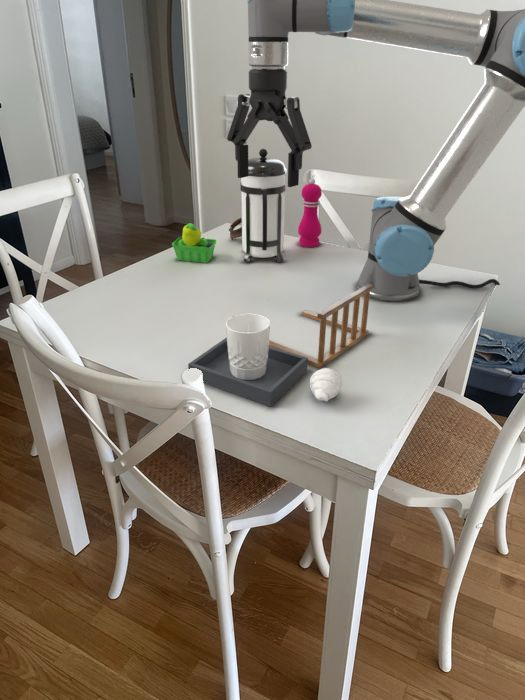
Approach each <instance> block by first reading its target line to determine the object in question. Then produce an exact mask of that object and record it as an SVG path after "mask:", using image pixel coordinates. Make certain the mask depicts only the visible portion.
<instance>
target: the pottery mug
mask: <svg viewBox="0 0 525 700" xmlns="http://www.w3.org/2000/svg"><path fill="white" fill-rule="evenodd" d="M239 225H242V217H239V218H237V219H236V220H234V221H233V222H232V223H231V224H230V225H229V229H228V231H229V238H230V239H231V240H232V241H233V240H234V239H239V238H242V226H240V227H238V226H239ZM236 227H238V228H237V229H235V228H236Z"/></svg>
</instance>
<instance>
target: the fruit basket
mask: <svg viewBox="0 0 525 700" xmlns="http://www.w3.org/2000/svg"><path fill="white" fill-rule="evenodd" d="M181 235H182V236H179V237H178V238H176V239H175V241H173V242H172V243H171V246H172V248H173V250H174V253H175V256H176V259H177V261H184V262H195V263H203V264H208V263H209V261H210V260H211V259H212V258H213V255H214V252H215V247H216V244H217V239H214V238H205V237H202V231H201V230H200V229H199V228H197V226H195V224H194V223H192V222H191V223H187V224H186V225H184V226H183V228H182V234H181Z"/></svg>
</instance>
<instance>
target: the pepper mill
mask: <svg viewBox="0 0 525 700" xmlns="http://www.w3.org/2000/svg"><path fill="white" fill-rule="evenodd" d="M322 193H323V191H322V188H321V186H319V184H316V179H315V178H312V177H311V178H309V180H308V183H307V184H305V185H303V187H302V189H301V197H302V198H303V200H302V206H303V214H302V217H301V219H300V222H299V224H298V228H297V233H298V235H299V236H300V237H298V238H299V239H298V244H299V245H300V246H301V247H305V248H316V247H318V246H319V245H320V238H319V237H320V236H321V234H322V225H321V221H320V219H319V214H318V209H319V206H320V198H321V197H322Z"/></svg>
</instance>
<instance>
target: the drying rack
mask: <svg viewBox="0 0 525 700" xmlns="http://www.w3.org/2000/svg"><path fill="white" fill-rule="evenodd" d="M371 290H373V285H371V284H367V285H365V286H364V287H362V288H360V289H358V288H357V290H355V291H353V292H351V293H350V294H348V295H346V296H344V297H343V298H341V299H339V300H338V301H336V302H334V303H333V304H331V305H329V306H328V307H326V308H323V309H322V310H321V311H319V312H317V313H316V312H314V311H311V310H307V309H305V310H303V311H302V314H301V315H302V316H303V317H306V318H308V319H309V318H310V319H311V320H316V321H319V336H318V352H317V358H315V357H313V356H311V355H308V354H305V353H303V352H300V351H298V350H296V349H292V348H290V347H288V346H284V345H282V344H280V343H277V342H274V341H272V340H269V346H270V347H273V348H277V349H280V350H283V351H287V352H290V353H293V354H297V355H300V356H304V357H307V358H308V365H310V366H313V367H315V368H318V369H322V368H324V367H325V365H327V364H328V363H330V362H331V361H332V360H334V359H336V358H337V357H338V356H340V355H341V354H343V353H344V352H345V351H347V350H348V349H350V348H351V347H352V346H354V345H356V344H357V343H358V342H359V341H361V340H363V339H364V338H366V337H367V336H368V335H369V333H370V331H369V330H367V323H368V315H369V307H370V306H369V305H370V291H371ZM362 297H363V303H362V305H363V306H362V315H361V323H360V327H358V322H359V312H360V305H361V304H360V302H361V298H362ZM351 303H353V309H352V318H351V319H352V320H351V324H350V323H349V314H350V304H351ZM341 309H342V319H341V320H342V321H341V320H338V319H339V310H341ZM330 316H331V317H330ZM327 325H330V339H329V351H328V352H327V353H326V354H325V349H326V348H325V346H326V331H327ZM338 328H339V329H341V330H340V331H341V332H340V343H339V345H336V344H337V332H338ZM348 332H350V337H349V338H348V339H347V337H348V336H347V335H348Z"/></svg>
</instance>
